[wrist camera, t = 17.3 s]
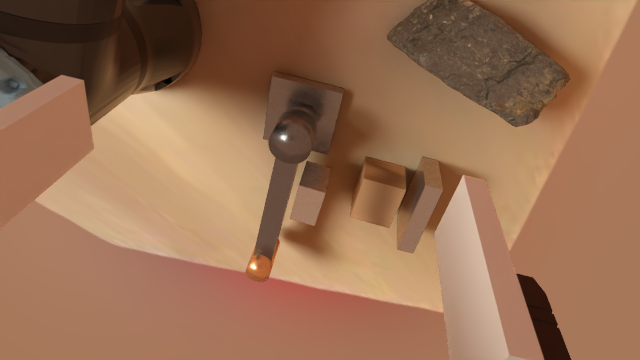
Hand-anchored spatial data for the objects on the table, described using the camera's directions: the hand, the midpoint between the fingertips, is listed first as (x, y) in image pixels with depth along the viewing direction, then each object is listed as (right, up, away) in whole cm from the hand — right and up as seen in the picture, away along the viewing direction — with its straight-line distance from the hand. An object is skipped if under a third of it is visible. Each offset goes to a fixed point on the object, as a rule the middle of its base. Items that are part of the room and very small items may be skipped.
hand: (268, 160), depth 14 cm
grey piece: (+5, +3, +36) cm, 37 cm away
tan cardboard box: (+9, -1, +38) cm, 39 cm away
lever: (-2, -2, +37) cm, 37 cm away
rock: (+17, +13, +27) cm, 35 cm away
